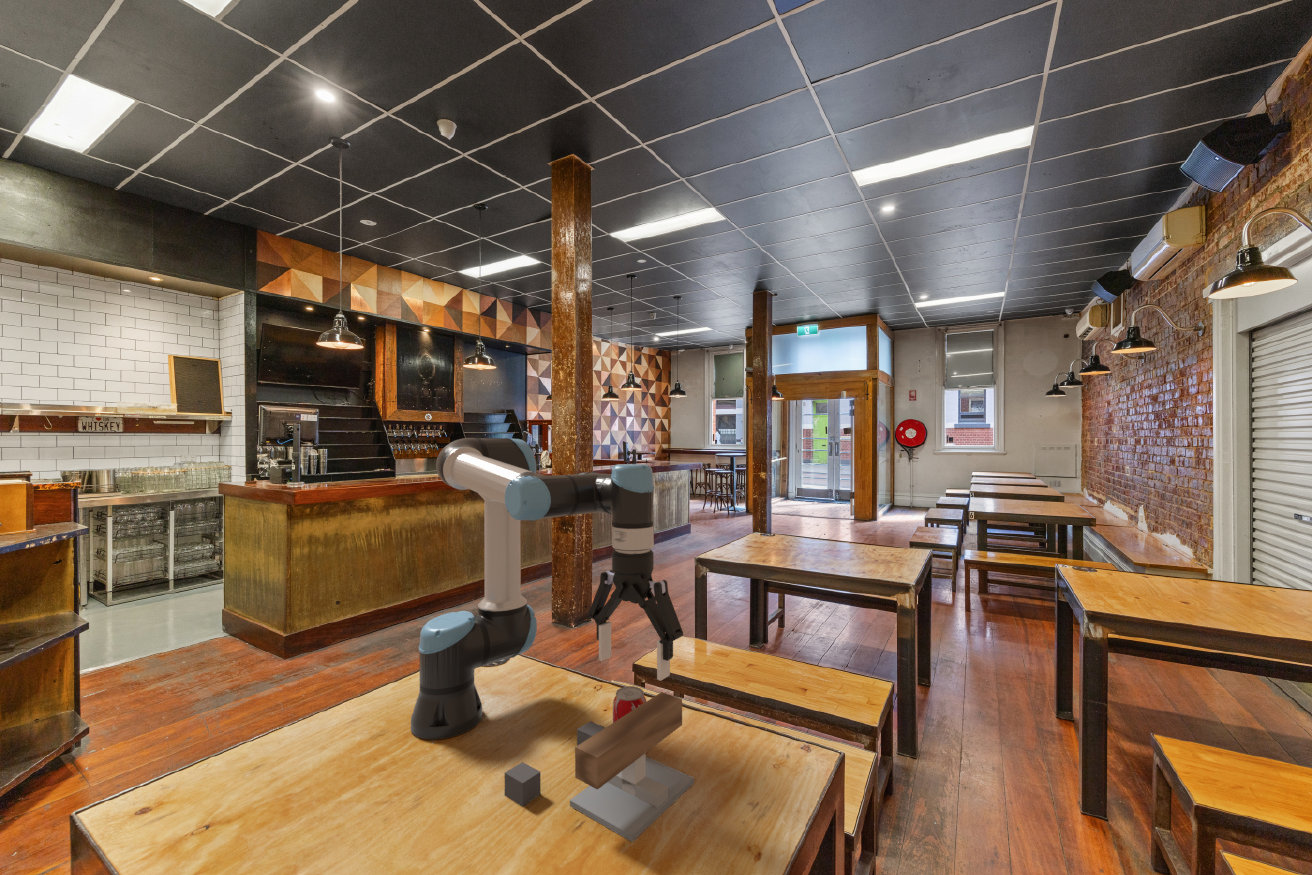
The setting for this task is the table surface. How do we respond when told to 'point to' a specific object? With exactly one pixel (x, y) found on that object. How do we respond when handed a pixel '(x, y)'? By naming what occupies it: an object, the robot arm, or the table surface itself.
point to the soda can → (627, 701)
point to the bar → (627, 740)
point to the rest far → (587, 731)
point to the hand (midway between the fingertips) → (633, 667)
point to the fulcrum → (633, 797)
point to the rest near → (522, 784)
